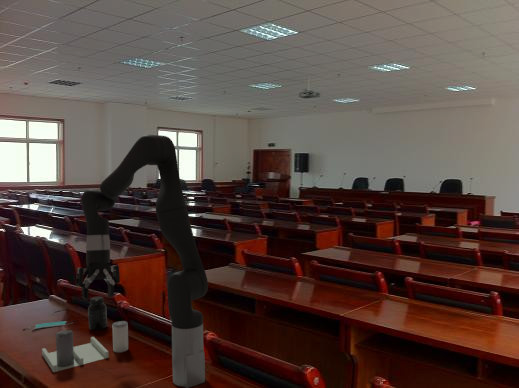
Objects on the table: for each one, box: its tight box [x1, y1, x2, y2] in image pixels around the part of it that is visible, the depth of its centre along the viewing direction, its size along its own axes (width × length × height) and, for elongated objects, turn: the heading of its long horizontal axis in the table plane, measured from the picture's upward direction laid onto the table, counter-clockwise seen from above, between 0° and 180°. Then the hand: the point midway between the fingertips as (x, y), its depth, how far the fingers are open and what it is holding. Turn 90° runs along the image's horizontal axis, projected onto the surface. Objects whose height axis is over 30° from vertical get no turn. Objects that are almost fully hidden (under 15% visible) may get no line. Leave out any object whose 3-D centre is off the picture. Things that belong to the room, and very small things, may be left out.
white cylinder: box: [111, 320, 129, 353], centre depth 155 cm, size 5×5×10 cm
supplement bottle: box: [87, 296, 108, 332], centre depth 178 cm, size 7×7×12 cm
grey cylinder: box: [55, 329, 74, 367], centre depth 144 cm, size 5×5×10 cm
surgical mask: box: [22, 308, 79, 332], centre depth 181 cm, size 21×4×10 cm
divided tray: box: [41, 336, 110, 373], centre depth 150 cm, size 16×17×3 cm
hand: (98, 298), depth 150 cm, fingers open, 8 cm apart
